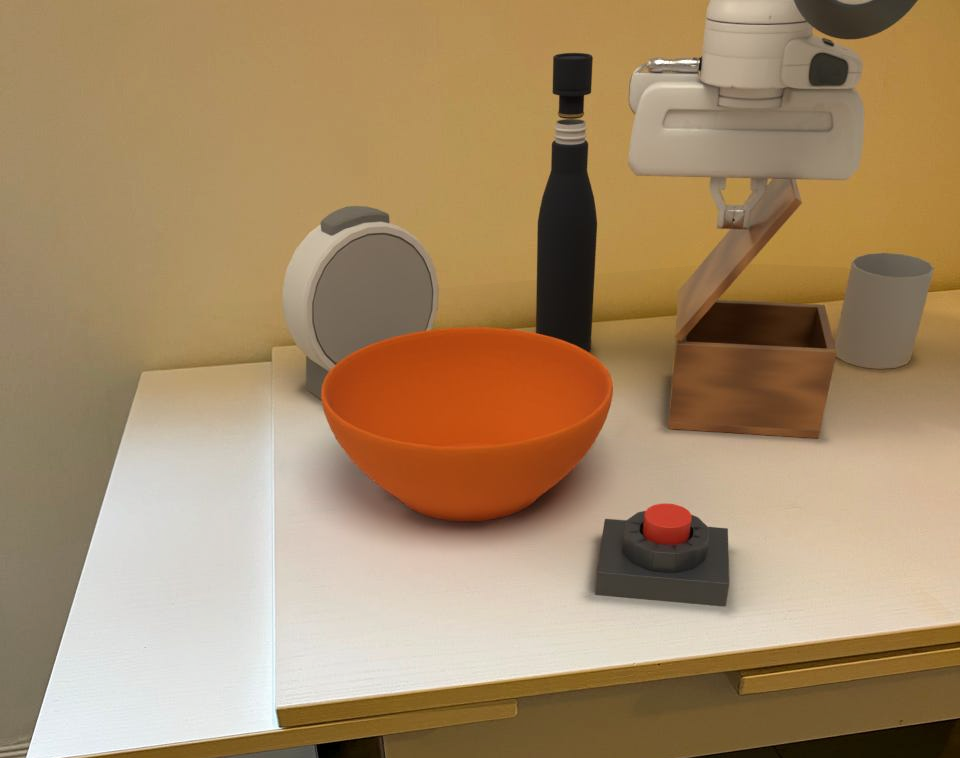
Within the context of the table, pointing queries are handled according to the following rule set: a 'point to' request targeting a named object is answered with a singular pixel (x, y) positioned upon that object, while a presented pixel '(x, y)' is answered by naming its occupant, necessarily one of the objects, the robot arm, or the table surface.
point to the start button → (667, 524)
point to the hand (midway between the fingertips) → (732, 227)
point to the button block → (663, 564)
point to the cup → (882, 309)
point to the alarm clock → (356, 288)
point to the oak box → (754, 370)
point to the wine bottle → (568, 215)
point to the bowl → (467, 416)
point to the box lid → (735, 254)
